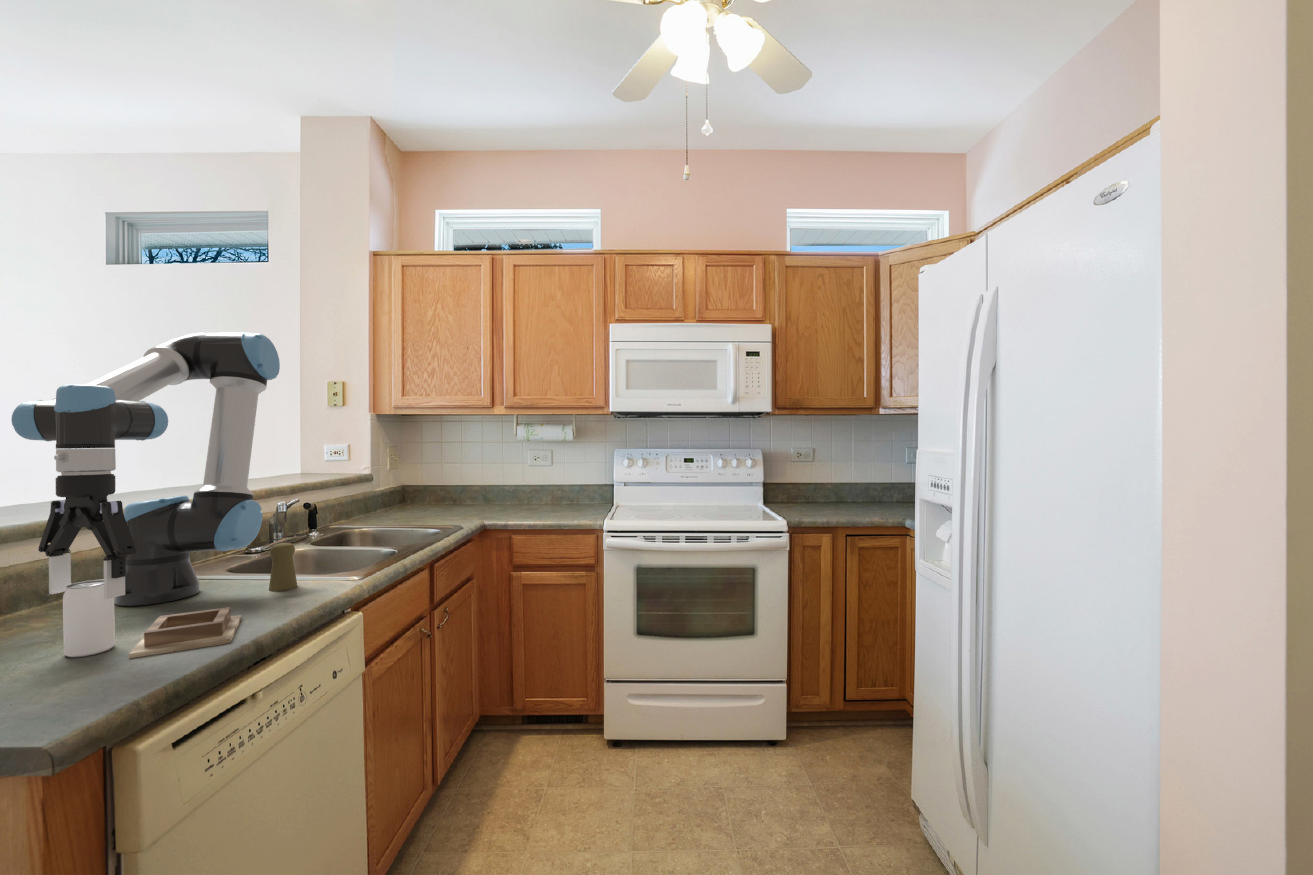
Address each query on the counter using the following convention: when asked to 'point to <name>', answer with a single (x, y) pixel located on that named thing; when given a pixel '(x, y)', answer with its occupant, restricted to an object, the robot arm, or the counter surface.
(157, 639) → the keeper board
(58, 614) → the counter surface
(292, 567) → the cork
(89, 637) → the can
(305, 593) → the counter surface
